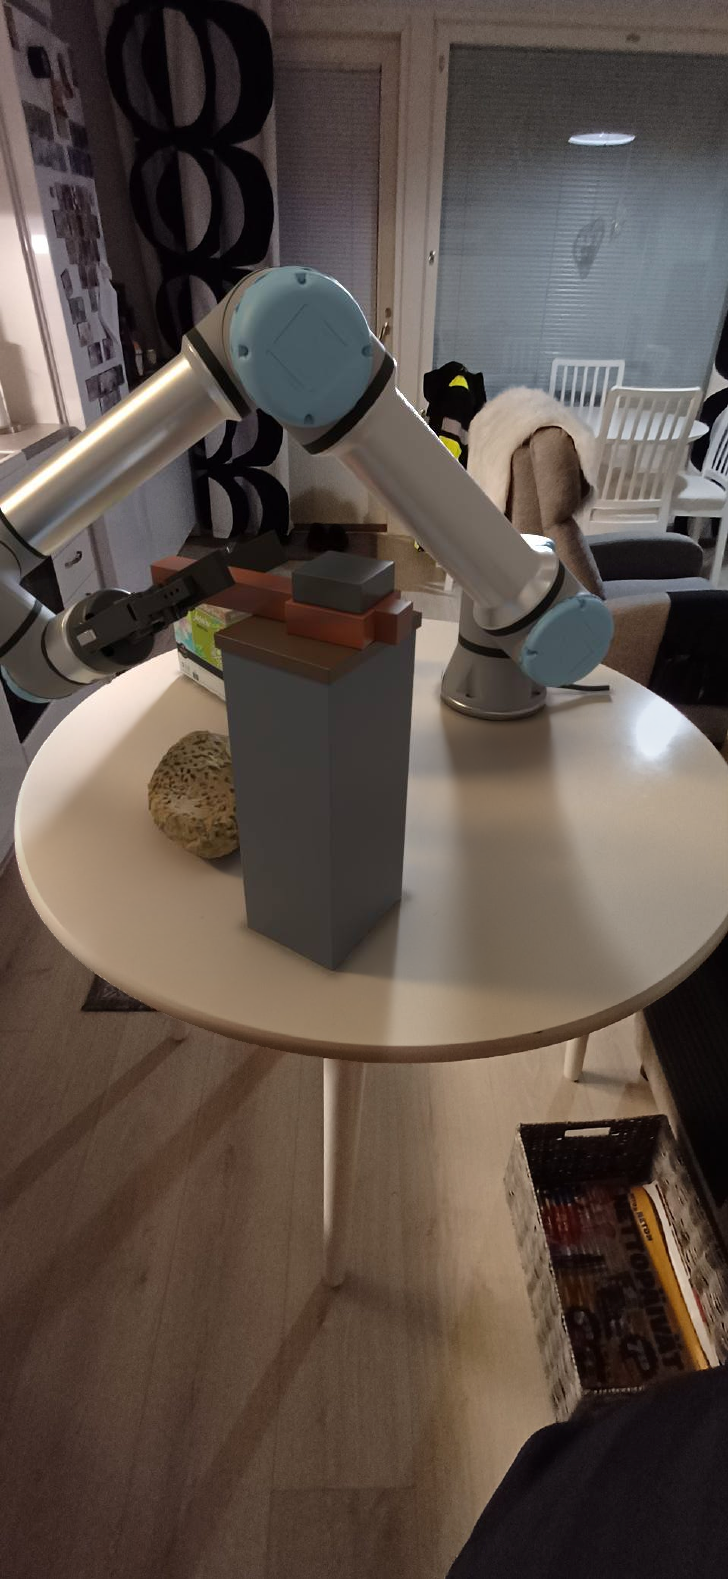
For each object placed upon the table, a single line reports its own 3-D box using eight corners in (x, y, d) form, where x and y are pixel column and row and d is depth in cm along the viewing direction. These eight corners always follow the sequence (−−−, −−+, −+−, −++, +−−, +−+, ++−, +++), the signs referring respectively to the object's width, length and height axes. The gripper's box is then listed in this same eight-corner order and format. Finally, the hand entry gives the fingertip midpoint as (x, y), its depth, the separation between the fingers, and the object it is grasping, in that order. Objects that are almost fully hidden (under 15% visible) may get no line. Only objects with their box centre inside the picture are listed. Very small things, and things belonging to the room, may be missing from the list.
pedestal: (242, 927, 74) (212, 633, 57) (320, 857, 83) (314, 584, 66) (333, 974, 70) (329, 669, 53) (405, 895, 78) (422, 612, 61)
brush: (139, 600, 63) (130, 543, 60) (188, 576, 67) (181, 522, 65) (385, 655, 55) (387, 592, 52) (421, 624, 59) (425, 564, 57)
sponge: (173, 775, 98) (108, 846, 80) (181, 718, 95) (115, 777, 77) (274, 801, 98) (232, 877, 79) (285, 744, 95) (244, 810, 76)
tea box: (177, 674, 119) (164, 579, 110) (232, 655, 124) (224, 564, 116) (233, 709, 110) (224, 609, 101) (290, 688, 115) (286, 592, 107)
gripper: (188, 640, 83) (341, 570, 68) (41, 708, 70) (189, 642, 55) (154, 573, 81) (305, 485, 66) (-3, 631, 68) (137, 539, 53)
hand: (252, 557), depth 60 cm, fingers open, 6 cm apart
